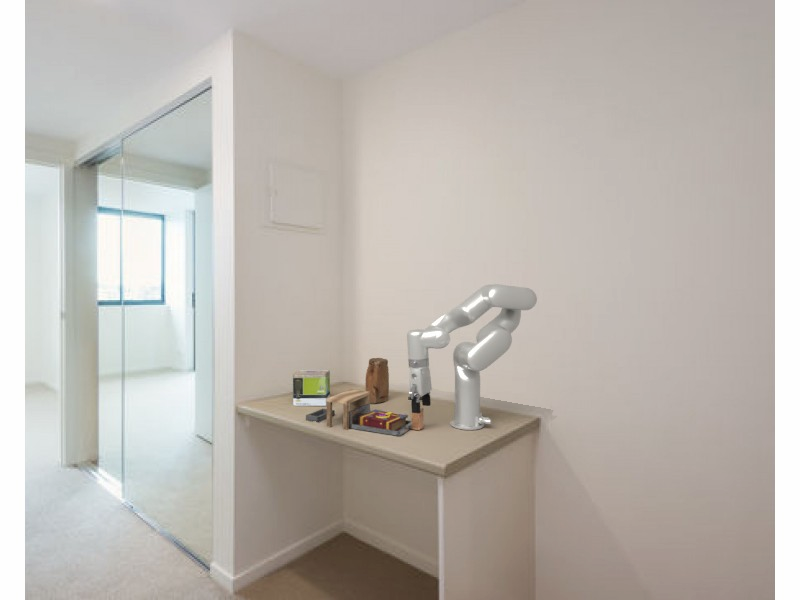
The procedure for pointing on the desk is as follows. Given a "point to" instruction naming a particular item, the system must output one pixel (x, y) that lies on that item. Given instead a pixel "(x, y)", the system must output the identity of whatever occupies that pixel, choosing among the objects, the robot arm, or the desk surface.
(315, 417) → the gray frame
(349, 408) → the wooden arch stand
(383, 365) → the block
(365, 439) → the desk surface
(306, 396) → the tea box
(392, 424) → the decorative book
